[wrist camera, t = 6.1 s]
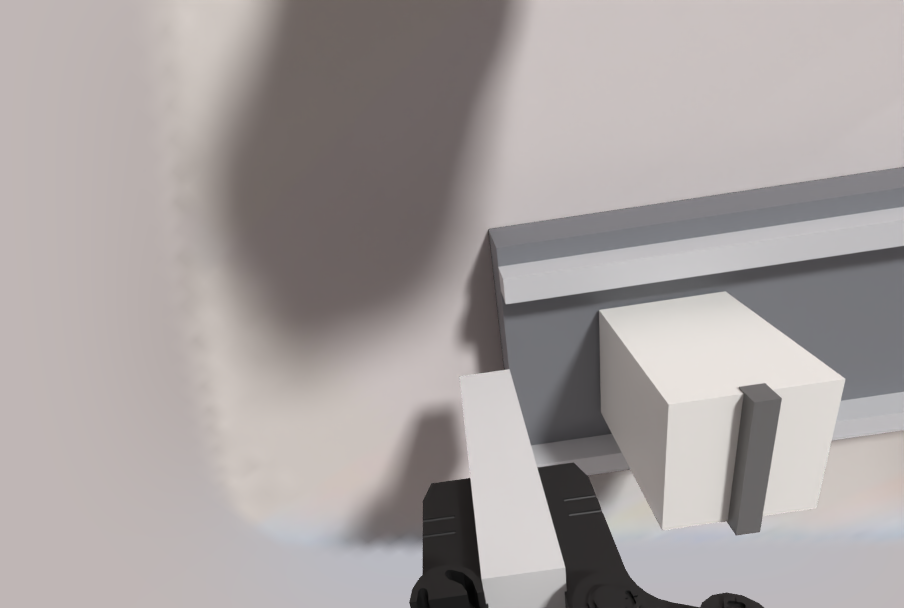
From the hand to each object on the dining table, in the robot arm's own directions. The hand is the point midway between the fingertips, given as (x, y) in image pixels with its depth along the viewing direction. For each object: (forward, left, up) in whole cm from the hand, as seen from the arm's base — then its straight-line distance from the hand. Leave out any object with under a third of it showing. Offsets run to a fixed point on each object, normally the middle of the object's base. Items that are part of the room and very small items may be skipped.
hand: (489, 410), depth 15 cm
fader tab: (0, +6, -2) cm, 6 cm away
